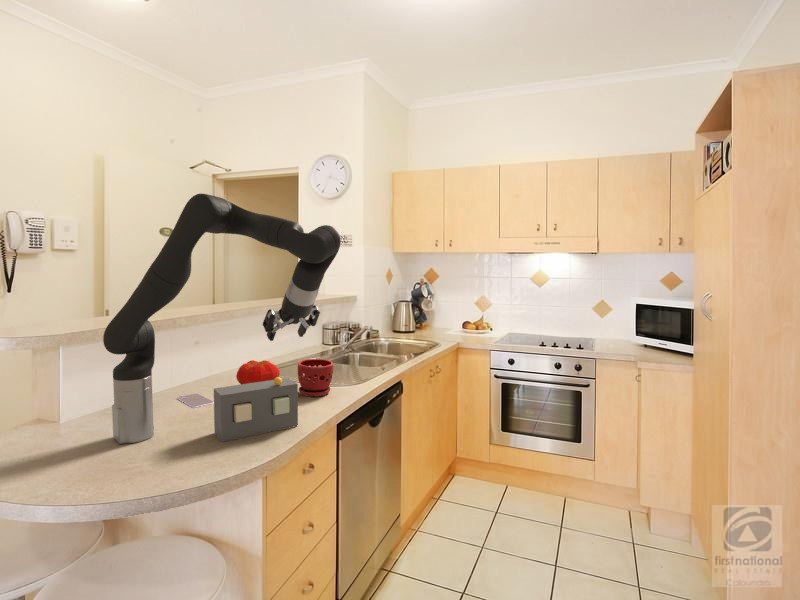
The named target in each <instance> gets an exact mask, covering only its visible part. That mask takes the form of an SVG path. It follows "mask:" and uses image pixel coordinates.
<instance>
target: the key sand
mask: <svg viewBox="0 0 800 600" xmlns="http://www.w3.org/2000/svg"><path fill="white" fill-rule="evenodd" d="M232 407H233V420H234V421H235V422H242V421H247V420H252V405H251V404H250V403H249V402H244V403H238V404H232Z"/></svg>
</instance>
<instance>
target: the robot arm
mask: <svg viewBox="0 0 800 600" xmlns="http://www.w3.org/2000/svg"><path fill="white" fill-rule="evenodd" d="M205 233H209V234H216V235H217V234H225V235H226V234H228V235H229V234H230V235H240V236H243V237H244V236H245V237H247V238H251V239H253V240H256V241H257V242H259V243H262V244H264V245H267V246H271V247H273V248H277V249H280V250H284V251H288V253H290V254H292V255H293V256H295V257H296V258H298V259H299V260H298V261H297V263H296V266H295V268H294V271H293V274H292V277H291V278H290V280H289V282H288V285H287V287H286V289H285V293H284V297H283V299H282V302H281V307H280V309H279V310H278V311H273V309H271V308H270V309H268V310H267V312H266V314H265V317H264V319H263V322H262V326H263V328H264V331H265V333H266V337H267V339H268V340H269V341H270V342H272V341H274V339H275V336H276V333H277V331H279V330H280V329H284V328H285V327H286V326H289V325H297V324H299V323H300V324H299V327H298V329H297V334H298V337H299V338H302V337H304V335H305V334H306V332H307V330H308V329H309V328H310V326H312V327H315V326H316V325H317V322H318V320H319V316H320V315H321V312H320V310H319V307H318V306H317V304H315V302H316V299H317V297H318V295H319V290H320V288H321V287H320V286H321V284H322V281H323V279H324V278H325V274H326V272H327V270H328V269H329V267H330V266H331V264H332V263H333V261H334V260H335V258H336V257H337V255H338V254H339V253H338V252H339V251H340V249H341V244H342V241H341V239H342V238H341V236H340V233H339V231H338V230H337V229H336V228H335V227H334V226H333V225H332V226H331V225H329V224H323V225H320V226H317V227H316V228H314V229H312V230H311V231H310V232H305V231H304V228H303V226H302V225H301V224H300V223H298V222H296V221H293V220H289V219H287V218H281V217H278V216H275V215H268V214H262V213H258V212H254V211H251V210H247V209H245V208H243V207H241V206H238V205H236V204H235V203H232V202H231V201H228V200H227V199H225V198H223V197H221V196H220V197H219V196H215V195H213V194H212V195H211V194H207V193H196V194H195V195H193V196H192V197H191V198H189V199H188V201H187V202H186V204H185V206H184V207H183V208H182V211H181V213H180V215H179V216H178V219H177V221H176V223H175V225H174V227H173V229H172V231H171V233H170V235H169V236H168V238H167V240H166V242H165V243H164V245H163V247H162V248H161V250H160V251H159V253H158V255H157V256H156V258H155V259H154V260H153V261H152V263H151V265H150V266H149V267H148V269H147V271H146V272H145V274H144V276H143V278H142V279H141V281H140V282H139V284H138V285H137V287H136V288H135V289H134V291H133V293H132V294H131V296H129V298H128V300H127V301H126V302H125V304H124V305H123V306H122V307H121V308H120V310H119V311H118V312H117V313H116V315H115V316H114V317H113V318H112V319H111V320H110V322H109V323H108V325H107V326H106V328H105V330H104V332H103V336H102V337H103V338H102V339H103V341H102V342H103V346H104V348H105V349H106V351H107V352H109V353H111V354H112V355H113V354H114V355H125V356H124V358H123V360H122V361H121V362H119V363H118V364H117V365H115V366H114V367H113V369H112V382H113V383H112V385H113V404H112V405H111V413H112V416H111V417H112V437H113V440H114V441H115V442H116V443H117V444H118V445H123V444H134V443H138V442H139V443H140V442H143V441H145V440H148V439H150V438H152V437H153V436H154V434H155V432H154V430H155V429H154V428H155V427H154V406H153V405H154V403H153V402H154V401H153V398H154V397H153V375H152V374H153V373H152V370H153V368H154V365H155V354H156V353H155V351H156V350H155V349H156V348H155V347H156V336H155V330H154V325H153V324H152V323H151V321H150V318H151V317H152V316H153V315H155V314H156V313H158V312H159V311H161V310H162V309H163V308H164V307H165V306H167V305H169V304H170V303H171V302H172V301H173V300H174V299H175V298H176V297H177V296H178V295H179V294H180V292H181V291H182V289H183V288H184V287H185V285H186V283H188V281H189V279H190V277H191V273H192V254H193V250H194V248H195V247H196V245H197V244H198V242H199V241H200V239H201V238H202V236H204V235H205ZM307 317H308V319H306V318H307Z"/></svg>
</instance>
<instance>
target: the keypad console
mask: <svg viewBox="0 0 800 600" xmlns="http://www.w3.org/2000/svg"><path fill="white" fill-rule="evenodd" d="M298 391H299V386H298V383H297V382H295V381H293V380H292V379H290V378H288V377H284V378H281V377H280V376H279V377H276V378H275V379H274V380H269V381H262V382H255V383H248V384H235V385H229V386H221V387H215V388H213V402H214V404H213V417H214V418H213V420H214V425H213V426H214V434H215V435H216V436H217V438H218V439H219V440H220V441H221V443H223V442H228V441H232V440H237V439H243V438H247V437H253V436H257V435H262V434H267V433H271V431H272V432H277V431H281V430H285V429H284V428H286V429H290V428H289V427H291V428H294V427H293V426H296V427H298V426H299V412H298V411H299V410H298V409H299V407H298V405H299V403H298V401H299V399H298V398H299V397H298V395H299V393H298ZM280 396H287V397H288V398H289V413H284V414H279V415H275V414H273V413H272V398H274V397H280ZM244 402H249V403H250V404H251V405H252V420H247V421H242V422H235V421H234V420H233V407H232V404H238V403H244ZM297 425H298V426H297ZM276 430H277V431H276ZM252 435H253V436H252Z"/></svg>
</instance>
